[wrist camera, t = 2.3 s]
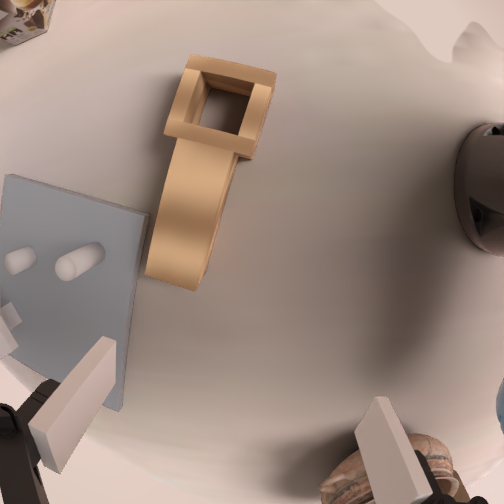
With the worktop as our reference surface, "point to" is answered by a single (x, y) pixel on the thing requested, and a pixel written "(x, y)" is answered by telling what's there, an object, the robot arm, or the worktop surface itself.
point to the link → (202, 167)
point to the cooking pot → (357, 483)
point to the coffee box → (24, 19)
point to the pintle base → (69, 300)
